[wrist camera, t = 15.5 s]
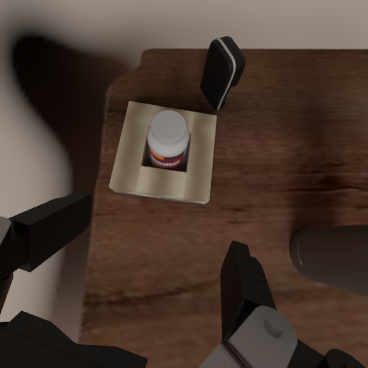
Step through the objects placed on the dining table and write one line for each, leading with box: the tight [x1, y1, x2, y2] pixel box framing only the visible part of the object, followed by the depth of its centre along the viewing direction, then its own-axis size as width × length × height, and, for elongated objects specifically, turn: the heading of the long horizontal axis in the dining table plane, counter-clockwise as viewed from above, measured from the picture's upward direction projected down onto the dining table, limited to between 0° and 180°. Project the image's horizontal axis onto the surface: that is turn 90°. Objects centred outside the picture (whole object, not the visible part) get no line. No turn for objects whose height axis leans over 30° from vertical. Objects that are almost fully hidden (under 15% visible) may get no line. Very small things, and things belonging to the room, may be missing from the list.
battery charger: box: [200, 36, 246, 110], centre depth 36 cm, size 7×4×11 cm, turn 27°
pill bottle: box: [147, 110, 189, 171], centre depth 30 cm, size 6×6×11 cm
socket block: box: [109, 101, 217, 205], centre depth 34 cm, size 16×16×4 cm
